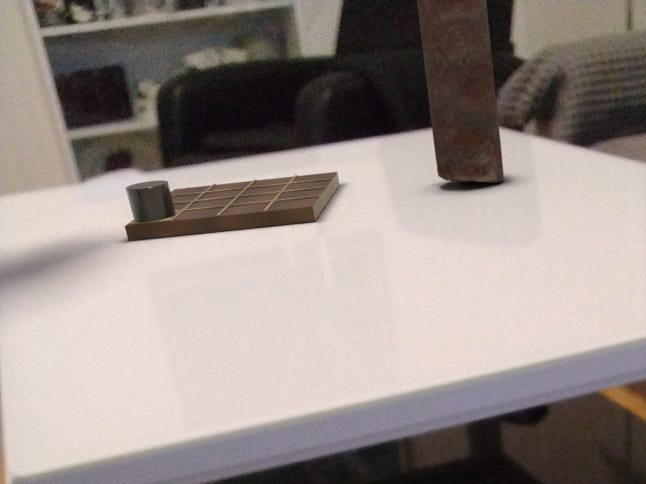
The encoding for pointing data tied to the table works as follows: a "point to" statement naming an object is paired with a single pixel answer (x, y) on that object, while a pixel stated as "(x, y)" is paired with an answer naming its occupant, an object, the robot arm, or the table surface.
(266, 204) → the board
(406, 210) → the table surface
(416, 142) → the table surface
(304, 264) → the table surface
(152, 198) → the short grey cylinder
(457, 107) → the brown tall block
